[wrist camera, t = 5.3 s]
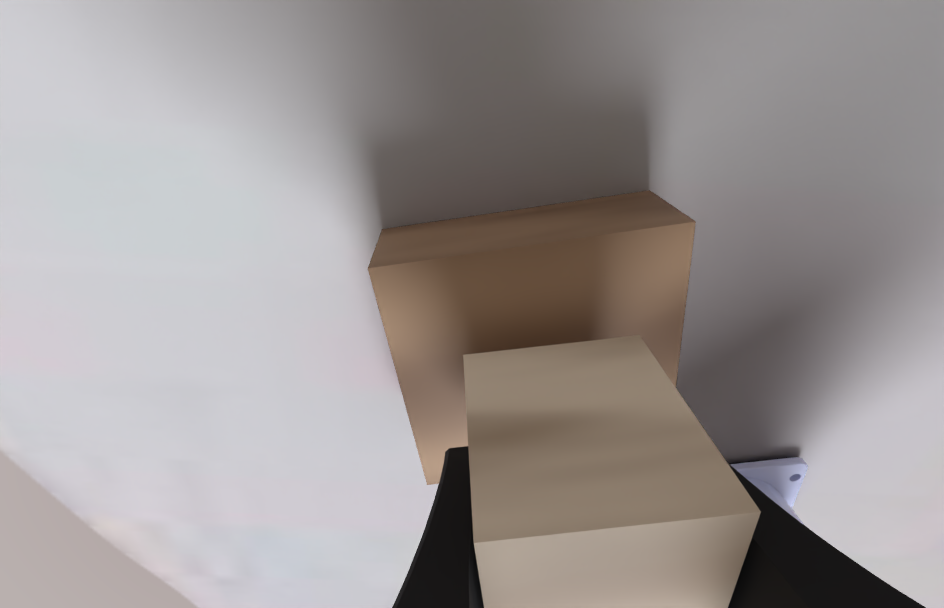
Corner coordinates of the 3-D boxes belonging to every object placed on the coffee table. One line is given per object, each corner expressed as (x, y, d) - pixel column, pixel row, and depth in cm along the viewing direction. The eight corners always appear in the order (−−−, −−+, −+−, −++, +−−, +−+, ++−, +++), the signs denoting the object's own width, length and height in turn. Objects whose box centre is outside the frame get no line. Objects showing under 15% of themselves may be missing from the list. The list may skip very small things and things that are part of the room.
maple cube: (626, 458, 13) (712, 651, 9) (479, 474, 14) (494, 674, 9) (639, 335, 11) (760, 511, 7) (463, 355, 11) (473, 542, 7)
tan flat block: (633, 390, 20) (667, 453, 16) (430, 418, 20) (427, 484, 17) (645, 187, 15) (695, 221, 12) (383, 225, 15) (367, 268, 12)
